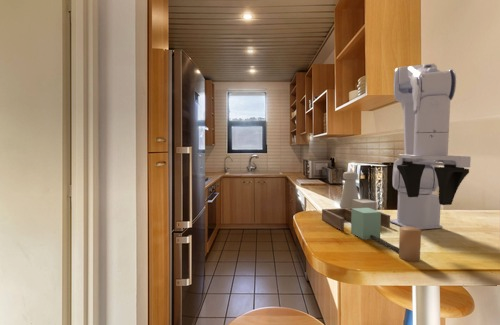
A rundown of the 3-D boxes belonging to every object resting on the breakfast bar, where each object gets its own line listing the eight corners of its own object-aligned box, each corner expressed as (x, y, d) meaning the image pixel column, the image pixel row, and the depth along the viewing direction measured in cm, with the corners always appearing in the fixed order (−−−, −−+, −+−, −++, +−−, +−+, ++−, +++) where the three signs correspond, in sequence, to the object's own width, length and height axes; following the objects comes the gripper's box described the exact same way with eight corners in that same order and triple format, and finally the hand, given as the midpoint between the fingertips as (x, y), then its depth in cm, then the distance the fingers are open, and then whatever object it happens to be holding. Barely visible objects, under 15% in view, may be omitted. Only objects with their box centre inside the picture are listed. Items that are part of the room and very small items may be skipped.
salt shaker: (361, 216, 79) (362, 173, 79) (341, 215, 80) (342, 172, 80) (357, 211, 85) (358, 171, 84) (338, 210, 86) (339, 170, 85)
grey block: (365, 219, 76) (366, 198, 75) (376, 223, 71) (376, 202, 71) (351, 220, 75) (352, 199, 75) (361, 224, 70) (361, 202, 70)
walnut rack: (365, 217, 78) (365, 207, 78) (389, 227, 68) (390, 215, 68) (321, 219, 75) (322, 209, 75) (340, 230, 66) (341, 218, 65)
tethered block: (367, 231, 65) (368, 207, 64) (427, 260, 48) (428, 228, 48) (351, 233, 64) (351, 208, 63) (406, 262, 47) (407, 230, 47)
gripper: (387, 134, 59) (385, 194, 60) (448, 130, 45) (445, 209, 46) (414, 135, 61) (412, 193, 61) (481, 131, 46) (477, 207, 47)
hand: (428, 200), depth 54 cm, fingers open, 7 cm apart
